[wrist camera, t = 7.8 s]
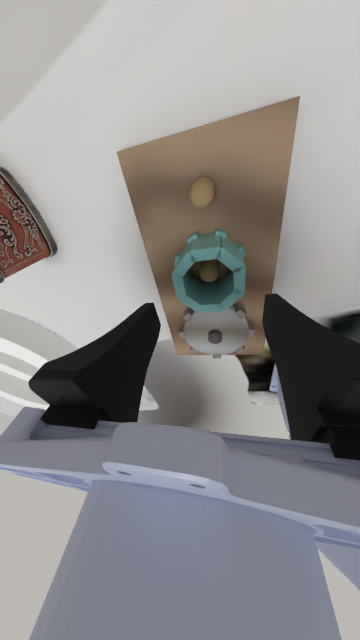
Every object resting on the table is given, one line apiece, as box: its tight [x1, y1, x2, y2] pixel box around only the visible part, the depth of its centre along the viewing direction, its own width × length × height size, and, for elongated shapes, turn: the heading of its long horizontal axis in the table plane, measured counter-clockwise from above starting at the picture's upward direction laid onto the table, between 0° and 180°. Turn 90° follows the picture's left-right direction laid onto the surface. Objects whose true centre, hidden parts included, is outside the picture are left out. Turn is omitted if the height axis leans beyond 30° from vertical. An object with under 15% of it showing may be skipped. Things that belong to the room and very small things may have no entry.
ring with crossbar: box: [0, 310, 78, 410], centre depth 36 cm, size 28×28×5 cm
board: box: [117, 96, 300, 358], centre depth 18 cm, size 23×12×4 cm, turn 11°
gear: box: [172, 227, 246, 313], centre depth 16 cm, size 6×6×4 cm
